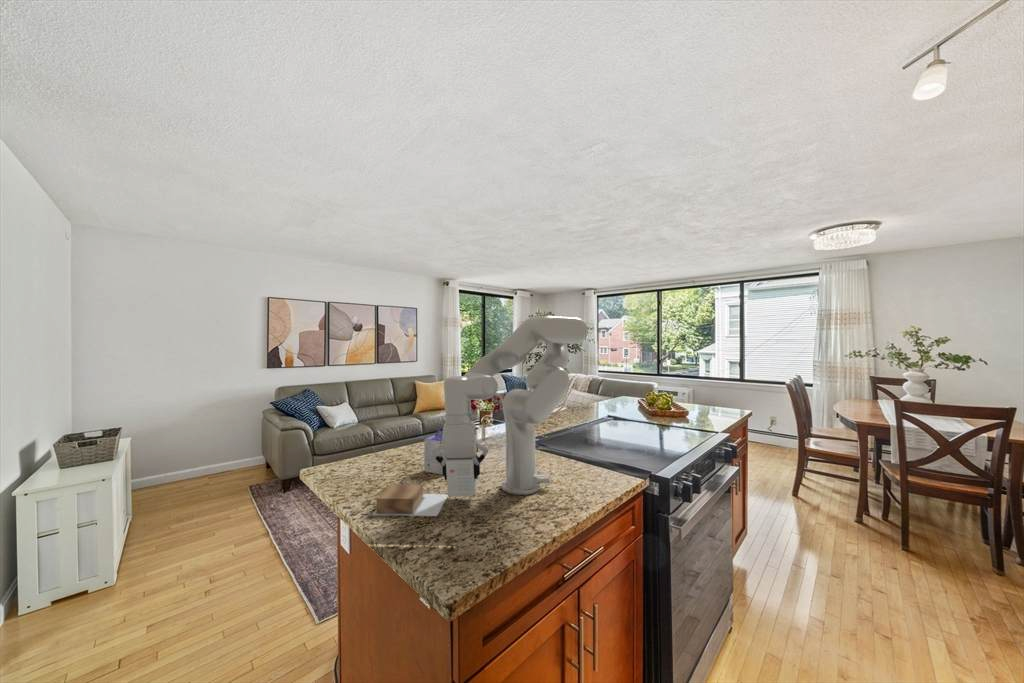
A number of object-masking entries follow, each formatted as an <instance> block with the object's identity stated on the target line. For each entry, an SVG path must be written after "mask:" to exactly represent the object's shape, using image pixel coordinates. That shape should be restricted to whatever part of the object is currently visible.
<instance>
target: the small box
mask: <svg viewBox="0 0 1024 683" xmlns="http://www.w3.org/2000/svg"><path fill="white" fill-rule="evenodd" d="M474 464H475V463H474V462H473V459H471V458H457V459H448V460H446V474H447V480H446V486H447V489H446V490H447V494H448V496H447V497H465V496H466V497H467V496H468V497H469V496H475V495H476V492H477V489H478V481H477V479H478V478H477V479H474Z"/></svg>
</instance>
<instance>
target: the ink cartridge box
mask: <svg viewBox="0 0 1024 683" xmlns="http://www.w3.org/2000/svg"><path fill="white" fill-rule="evenodd" d="M439 433H441V434H439ZM442 435H443V430H440V429H438V430H436V434H435V435H430V436H428V437H427V436H426V437H425V438H424V445H423V446H424V449H423V450H424V452H423V454H424V456H423V457H424V458H423V460H424V464H423V466H424V467H423V468H424V469H423V471H424V472H426V473H431V474H432V473H433V474H439V475H443V471H442V466H441V464H440V463H439V462H438V461H437V460H436V458H435V457H434V456H433V454H432V451H433V450H434V449H435V448H437V447H438V446H440V445H441V444H442ZM438 453H439V455H441V456H442V457H443V455H442V450H440V451H439V452H438ZM443 458H444V457H443Z"/></svg>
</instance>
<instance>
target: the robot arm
mask: <svg viewBox="0 0 1024 683" xmlns="http://www.w3.org/2000/svg"><path fill="white" fill-rule="evenodd" d="M588 330H589V327H588V326H587V324H586V322H585V321H584V320H583V319H582V318H579V317H570V316H555V315H539V316H532V317H528V318H526V319H525V320H524V321H523V322H521V324H520V325H519V326H518V327H516V329H515V330H514V331H513V332H512V333H511V334H510V335H509V336H508V337H507V338H506V339H505V340H504V341H503V342H502V343H501V344H500V345H499V346H497V347H495V348H494V349H492V350H491V351H490V352H489V353H487V354H485V355H483V357H481V358H480V359H479V360H478V361H476V362H475V363H474V364H473V365H472V366H471V367H470V368H469V369H468V370H467V371H466V372H465V374H464V375H456V376H455V375H454V376H449V377H446V378H445V379H444V380H443V391H444V392H443V393H444V396H443V398H444V411H445V422H444V424H443V426H442V427H443V429H442V431H443V433H442V434H441V435H442V444H441V445H440V446H438V447H437V448H435V449H434V450H433V451H432V454H433V456H434V457H435V458H436V460H437V461H438V462H439V463H440V464H441V466H442V471H443V474H442V476H443V477H444V480H445V481H447V474H446V460H448V459H457V458H471V459H473V462H474V463H475V464H474V479H478V477H479V476H480V474H481V468H480V467H481V465H480V464H481V463H482V461H484V459H485V458H486V456H487V455H488V453H489V451H490V450H489V448H488V447H487V446H485V445H484V444H482V443H481V442H479V441H478V440H479V439H478V433H477V428H476V423H475V421H474V420H475V419H476V420H477V414H476V413H473V412H472V402H471V401H472V400H488V399H491V398H493V397H494V396H495V395H496V394H497V393H498V390H499V384H498V382H497V379H496V378H494V376H495V375H497V374H498V373H500V372H503V371H505V370H507V369H510V368H513V367H516V366H517V365H520V364H521V363H523V361H524V360H525V359H526V358H527V357H528V355H530V353H531V352H532V351H534V350H535V348H536V347H537V346H538V345H539V344H541V343H546V349H545V352H544V353H543V355H542V356H541V358H539V359H538V361H537V362H536V363H535V364H534V366H532V368H531V369H530V370H529V372H528V373H527V375H526V377H525V385H526V388H527V389H528V390H527V389H521V388H513V389H511V390H510V391H508V392H507V393H506V394H505V396H504V398H503V401H502V412H503V418H504V424H505V425H504V426H505V479H504V480H503V481H502V482H501V485H500V486H501V490H502V491H503V492H505V493H507V494H510V495H517V496H521V495H522V496H523V495H531V494H532V495H533V494H535V493H537V492H539V490H540V489H541V484H551V483H550V481H551V480H550V478H551V477H550V476H546V475H545V474H540V475H539V474H537V470H536V428H535V425H539V424H542V423H543V422H545V421H546V420H547V419H548V418H549V417H550V416H551V415H552V413H553V412H554V410H555V409H556V408H557V407H558V405H559V404H560V402H561V401H562V400H563V399H564V397H565V395H566V394H567V392H568V390H569V388H570V377H569V374H568V372H567V371H566V370H565V368H566V367H567V365H568V362H569V347H568V344H573V345H574V344H580V343H582V342H584V341H585V339H586V338H587V337H588V332H589V331H588ZM440 450H442V455H443V457H444V458H443V457H442V456H441V455H439V453H438V452H439V451H440ZM479 451H481V452H482V453H481V454H480V455H478V454H477V453H478V452H479Z"/></svg>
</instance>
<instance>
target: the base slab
mask: <svg viewBox="0 0 1024 683" xmlns="http://www.w3.org/2000/svg"><path fill="white" fill-rule="evenodd" d="M423 494H424V484H407V483H406V484H401V483H399V484H397V483H395V484H393V483H392V484H391V483H390V484H389V485H387V487H386V488H385V489H384V490H383V491H382V492H381V493H380V494H379V495H378V496H377V497H376V499H375V500H376V501H375V502H376V509H377V513H405V514H413V512H414V511H415V509H416V508H417V506H418V505H419V503H420V502H421V500H422V499H423Z"/></svg>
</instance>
